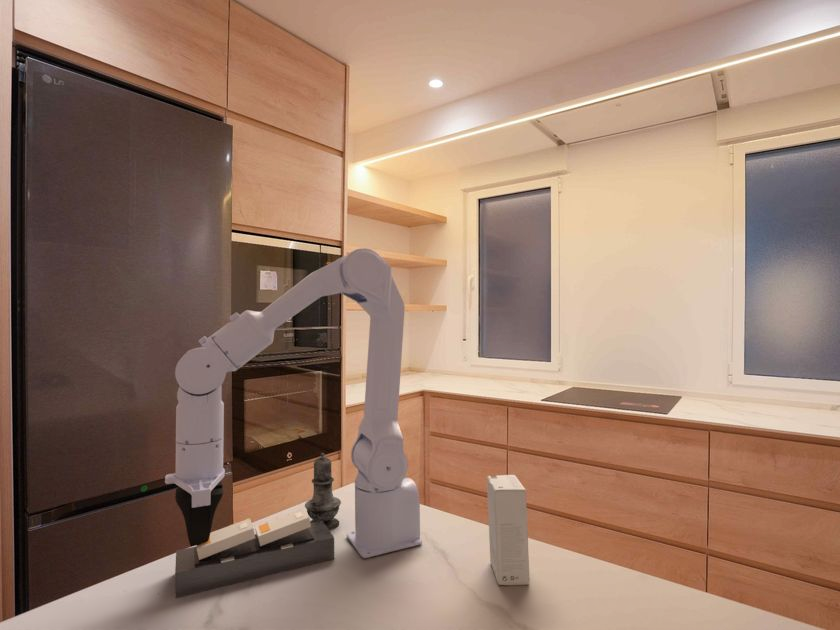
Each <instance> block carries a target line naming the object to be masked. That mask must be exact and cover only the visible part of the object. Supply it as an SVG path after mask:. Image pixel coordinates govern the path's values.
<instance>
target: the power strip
mask: <svg viewBox="0 0 840 630" xmlns="http://www.w3.org/2000/svg"><path fill="white" fill-rule="evenodd" d="M310 524H311V527H309V528H306V529H304V530H301V531H299V532H296V533H293V534H291V535H288V536H286V537H283V538H281V539H278V540H275V541H273V542H270V543H268V544H265V545H262V546H260V544H259V541H258V538H257V535H256V533H254V534H255V538H254V539H252V540H249V541H246V542H244V543H241V544H239V545H236V546H234V547H231V548H229V549H226V550H223V551H221V552H218V553H216V554H213V555H211V556H208V557H206V558H203V559H200V560H199V557H198V553H197V545H196V546H190V547H187V548H183V549H178V550H176V551H175V566H174V567H175V568H174V570H175V572H174V573H175V574H174V581H175V591H174V592H175V597H174V598H175V599H177V598H180V597H184V596H189V595H192V594H193V595H194V594H196V593H197V594H198V593H201V592H205V591H209V590H213V589H216V588H220V587H225V586H229V585H234V584H238V583H242V582H245V581H250V580H254V579H258V578H263V577H267V576H269V575H274V574H278V573H282V572H286V571H291V570H294V569H298V568H303V567H307V566H311V565H315V564H319V563H320V564H321V563H323V562H328V561H331V560H332V561H333V560H334V559H335V537H334V535H333V534H332V533H331V530H330V531H329V529H328V528H327V526H326V525H325V524H324V522H323V521H317V522H313V523H310Z"/></svg>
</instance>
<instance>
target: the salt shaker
mask: <svg viewBox="0 0 840 630" xmlns="http://www.w3.org/2000/svg"><path fill="white" fill-rule="evenodd" d="M334 481H335V479H334V477H332V460H331V459H330V458H329V457H326V456H325V453H324V452H321V454H320V457H317V458H316V459H315V460H314V462H313V478H312V479H311V483H312V484H313V495H312V498H311V499H309V500H307V501H306V502H305V504H304V509H306V513H307V515H308V516H309V519H310V523H313V522H317V521H323V522H324V524H325V525H326V526H327V528H328V529H329V531H330V532H331V531H333V530H335V529H337V528H338V527H339V525H340V520H338V518H336V515H337V514H338V513H339V510H340V505H341V504H342V500H341V499H340V498H338V497H335V496H334V494H333V482H334Z"/></svg>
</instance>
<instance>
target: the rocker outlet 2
mask: <svg viewBox="0 0 840 630" xmlns="http://www.w3.org/2000/svg"><path fill="white" fill-rule="evenodd" d="M310 521H311V518H310V517H309V515H308V513H307V510H305V507H304V508H303V507H302V508H300V509H298V510H294V511H292V512H289V513H286V514H284V515H280V516H279V517H276V518H273V519H270V520H267V521H265V522H261V523H259V524H256V525H254V529H255V530H254V531H255V534H256V535H257V538H258V541H259V544H260V546H262V545H265V544H268V543H270V542H273V541H275V540H278V539H281V538H283V537H286V536H288V535H291V534H293V533H296V532H299V531H301V530H304V529H306V528H309V527H311V524H310Z"/></svg>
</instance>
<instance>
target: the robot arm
mask: <svg viewBox="0 0 840 630" xmlns="http://www.w3.org/2000/svg"><path fill="white" fill-rule="evenodd" d="M337 294H341V295H343V296H345V297H347V298H348V299H351V300H352V301H354V302H356V304H358V305H359V306H360V307H361V309H362V310H364V312H366V313H367V314H368V315H369V319H370V320H369V331H368V333H369V335H368V346H367V347H368V349H367V361H366V362H367V365H366V375H365V378H366V379H365V390H364V391H365V394H364V406H363V407H364V408H363V418H362V420H361V422H360V423H359V425H358V429H357V430H358V433H357V437H356V439H355V441H354V443H353V445H352V448H351V450H350V459H351V462H352V464H353V466H354V467H355V469H357V475H356V477H355V479H354V515H355V516H354V519H355V520H354V522H355V524H354V525H355V527H354V529H355V530H353V531H350V532H347V533H346V538H348V539H347V540H349V542H350V543H351V544H352V546H353V547H354V548H355V549H356V551H357V552H358V553H359V555H360V556H361V557H362V558H363V559H367V558H372V557H376V556H380V555H384V554H387V553H391V552H395V551H399V550H400V551H401V550H403V549H407V548H411V547H415V546H419V545H422V544H423V539H422V538H421V513H420V512H421V507H420V505H421V504H420V502H421V501H420V495H419V491H418V487H417V484H416V483H415V481H414V480H413V479H412V478H410V477H407V476H406V475H407V473H408V468H409V463H408V458H407V456H406V453H405V450H404V437H403V434H402V431H401V428H400V424H399V421H398V418H399V402H400V401H399V400H400V389H401V388H400V387H401V386H400V385H401V384H400V383H401V371H402V356H403V343H404V342H403V340H404V338H403V337H404V326H405V325H404V324H405V302H404V300H403V298H402V295H401V294H400V291H399V289H398V287H397V285H396V283H395V280H394V278H393V273H392V265H390V264H389V263H388V262H387V260H385V259H384V258H383V257H382V256H381V255H380V254H379V253H377V251H375V250H374V249H373V250H372V249H370V248H364V247H361V248H360V247H359V248H356V249H354V250H353V251H351V252H349V253H348V254H347V255H343V256H341V257H338V258H337V259H336V260H334V261H332V262H330V263H328V264H326V265H324V266H322V267H320V268H319V269H317V270H314V271H312V272H310V274H308V275H307V276H305V277H304V278H303V279H302V280H300V281H299V282H297V284H295V285H294V286H292V287H291V288H290V289H289V290H287V291H286V292H285V293H283V294H282V295H281V296H280V297H278V298H277V299H276V300H274V301H273V302H272V303H270V304H268V306H266V307H265V308H264V309H263V310H262V311H256V310H249V309H247V310H244V311H243V312H242V313H240V314H239V313H238V312H235V313H233V314H231V315H230V316H229V317H228V318H229V320H230V321H229V322H228V323H226V324H225V325H224V326H222V327H221V328H220V329H217V331H216V332H214V333H213V334H211V335H209V337H207V336H205V335H203V337H201V338H200V339H198V343H199V344H200V345H201V347H196V348H191V349H189V350H187V351H186V353H185V354H183V356H181V358H180V359H179V360H178V362H177V363H176V366H175V369H174V375H175V379H176V382H177V384H178V385H179V387H178V390H177V393H176V399H177V401H178V402H177V403H178V404H177V405H176V407H175V408H176V409H175V472H174V473H168V474H166V475H165V477H164V483H165V484H166V485H171V484H175V485H176V486H178V487H177V488H176V489H175V494H174V495H175V496H174V497H175V502H176V504H177V506H178V508H179V509H180V511H181V513H182V515H183V519H184V522H185V528H186V529H185V530H186V533H187V534H186V535H187V539H188V543H189V546H190V547H196V546H197V545H201V544H202V543H204V542H207V541H208V540H209V537H210V533H211V531H212V526H213V522H214V517H215V513H216V510H217V508H218V506H219V504H220V501H222V498H223V496H224V489H223V481H222V480H223V479H224V477H225V475H226V470H225V468H224V441H225V439H224V435H225V434H224V432H225V431H224V430H225V428H224V425H225V424H224V422H225V421H224V420H225V419H224V417H225V415H224V414H225V411H224V410H225V403H224V401H223V400H222V395H223V394H222V393H223V392H222V388H223V387H222V384H223V383H224V381H225V379H226V375H227V373H228V372H236V371H237V370H239V369H240V368H242V367H243V366H244V365H245V364H247V363H248V362H249V361H252V359H253V358H255V357H256V356H257V355H258V354H260V353H261V352H262V351H264V350H266V348H268V347H269V346H271V345H272V344H273V342H274V338H275V330H276V329H277V328H278V327H280V326H281V325H283V324H285V323H286V322H287V321H289V320H290V319H291V318H293V317H294V316H296V315H297V314H298V313H300V312H301V311H302V310H304V309H306V308H307V307H308V306H310V305H311V304H313V303H315V302H316V301H317V300H319V299H320V298H322V297H327V296H333V295H337Z"/></svg>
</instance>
